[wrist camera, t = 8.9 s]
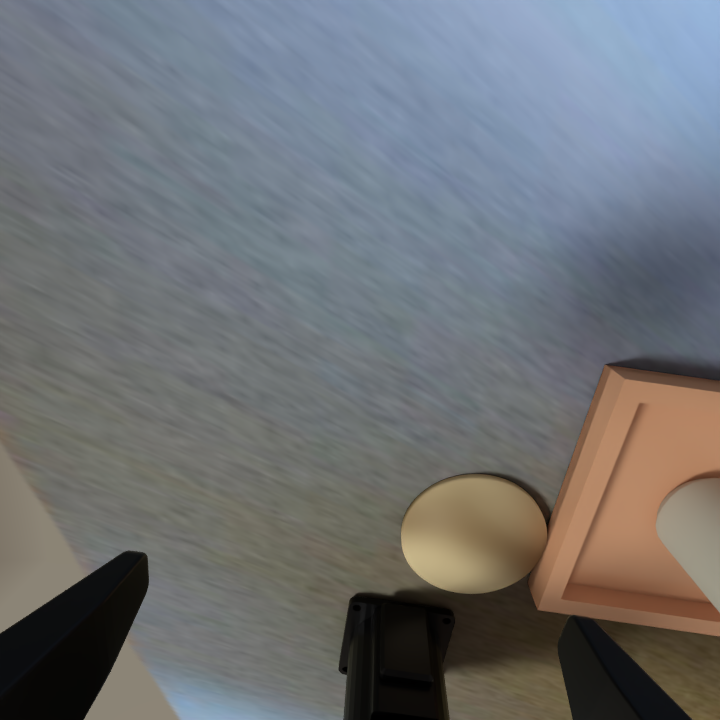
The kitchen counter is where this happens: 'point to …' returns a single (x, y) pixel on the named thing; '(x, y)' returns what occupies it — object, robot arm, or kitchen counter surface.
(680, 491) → the beverage can
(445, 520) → the cork coaster
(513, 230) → the kitchen counter surface
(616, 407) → the tray
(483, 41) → the kitchen counter surface
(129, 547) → the kitchen counter surface
